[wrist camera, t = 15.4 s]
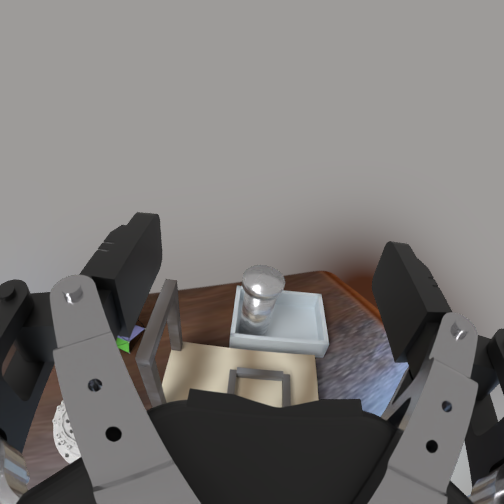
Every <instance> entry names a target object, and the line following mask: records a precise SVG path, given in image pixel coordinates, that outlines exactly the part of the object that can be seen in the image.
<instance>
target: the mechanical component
mask: <svg viewBox="0 0 504 504" xmlns="http://www.w3.org/2000/svg"><path fill="white" fill-rule="evenodd" d="M52 422H53V424H54V425H53V426H54V430H53V432H54V441H55V444H56V447H57V449H58V451H59V453H60V454H61V455H62V456H63V458H64V459H65V460H66V461H67V462H68V463H70V464H71V463H72V462H74V461H75V460H77V459H78V458H80V457H81V454H80V451H79V449H78V446H77V443H76V440H75V437H74V434H73V431H72V428H71V425H70V422H69V418H68V415H67V411H66V408H65V404H64V401H62V402H61V405H60V406H57V411H56V413H55V417H54V419H53V420H52Z"/></svg>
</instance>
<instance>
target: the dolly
mask: <svg viewBox="0 0 504 504" xmlns="http://www.w3.org/2000/svg"><path fill="white" fill-rule="evenodd" d="M166 321H167V324H168V331H169V337H170V344H171V354H170V357H169V361H168V364H167V368H166V371H165V375H164V379H163V383H162V384H161V381H160V377H159V373H158V369H157V365H156V361H155V355H156V352H157V348H158V345H159V342H160V339H161V336H162V333H163V330H164V327H165V324H166ZM135 359H136V362H137V365H138V368H139V371H140V374H141V377H142V380H143V383H144V385H145V388H146V391H147V394H148V396H149V399H150V402H151V404H152V407H156V406H158V405H161V404H164V403H168V402H172V401H178V400H187V399H188V394H189V389H190V388H192V389H199V390H206V391H213V392H221V393H229V394H235V395H238V396H241V397H244V398H247V399H250V400H253V401H256V402H260V403H263V404H266V405H270V406H273V407H287V406H292V405H297V404H302V403H307V402H312V401H316V400H319V399H318V386H317V375H316V364H315V355H305V354H290V353H276V352H265V351H254V350H244V349H235V348H226V347H218V346H210V345H203V344H196V343H189V342H182V332H181V323H180V312H179V301H178V289H177V280H170V279H166V280H165V282H164V285H163V287H162V290H161V292H160V294H159V297H158V299H157V302H156V304H155V307H154V309H153V312H152V314H151V317H150V320H149V322H148V325H147V327H146V330H145V333H144V335H143V338H142V341H141V343H140V346H139V349H138V351H137V354H136V357H135Z"/></svg>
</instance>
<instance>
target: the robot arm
mask: <svg viewBox="0 0 504 504" xmlns="http://www.w3.org/2000/svg"><path fill="white" fill-rule="evenodd" d="M161 262H162V244H161V230H160V219H159V215H158V214H151V213H140V212H137V213H136V214H135V215H134V216H133V218H132V219H131V220H130V222H129V223H128V224H127V225H121V226H120V227H118V228H117V229H115V230H113V231H112V232H110V234H109V235H108V236H107V238H106V239H105V240H104V243H102V244H101V246H100V247H99V248H98V250H97V251H96V252H95V253H94V255H93V256H92V258H91V259H90V260H89V262H88V263H87V264H86V266H85V267H84V269H83V270H82V271H81V273H80V274H79V275H72V276H68V277H66V278H64V279H62V280H60V281H59V282H57V284H55V285H54V287H53V288H52V290H51V292H47V293H33V294H30V292H29V289H28V287H27V285H26V283H25V282H23V281H22V280H10V281H7V282H5V283H3V284H1V285H0V504H504V417H503V418H502V419H501V420H500V421H499V422H498V420H497V416H496V413H495V409H494V406H493V403H492V400H491V397H490V392H491V391H492V390H493V389H494V388H495V387H496V386H497V385H498V384H499V383H500V386H501V388H502V391H503V394H504V329H499V330H498V331H497V332H496V333H495V335H494V336H493V337H492V339H489V338H486V337H483V336H479V335H478V334H477V330H476V328H475V326H474V325H473V324H472V322H471V321H470V320H469V319H467V318H466V317H464V316H463V315H461V314H458V313H453V312H452V311H451V309H450V307H449V305H448V303H447V301H446V299H445V297H444V295H443V294H442V292H441V290H440V288H438V285H437V283H436V282H435V280H434V279H433V276H432V274H431V272H430V271H429V269H428V268H427V267H426V266H425V265H424V264H423V263H422V262H421V261H420V260H419V259H417V257H416V256H415V254H414V252H413V251H412V249H411V247H410V246H409V245H408V244H405V243H398V242H391V241H390V242H388V243H387V244H386V246H385V247H384V250H383V253H382V256H381V258H380V261H379V263H378V266H377V268H376V271H375V274H374V276H373V281H372V291H373V294H374V297H375V300H376V303H377V306H378V309H379V312H380V315H381V318H382V321H383V324H384V328H385V331H386V334H387V337H388V340H389V344H390V347H391V351H392V354H393V357H394V361H395V363H400V362H408V364H409V367H408V368H407V370H406V371H405V373H404V375H403V377H402V379H401V381H400V383H399V385H398V387H397V389H396V391H395V393H394V395H393V397H392V398H391V400H390V402H389V404H388V406H387V408H386V410H385V411H384V413H383V414H382V416H381V417H379V416H377V415H374V414H372V413H369V412H365V411H362V406H361V399H321V400H316V401H312V402H307V403H302V404H297V405H292V406H287V407H273V406H270V405H266V404H263V403H260V402H256V401H253V400H250V399H247V398H244V397H241V396H238V395H235V394H229V393H221V392H213V391H206V390H199V389H192V388H190V389H189V394H188V399H187V400H178V401H172V402H168V403H164V404H161V405H158V406H156V407H153V408H151V409H149V410H147V411H146V410H145V408H144V406H143V404H142V402H141V400H140V397H139V395H138V393H137V391H136V389H135V387H134V384H133V382H132V380H131V378H130V375H129V373H128V371H127V369H126V366H125V364H124V361H123V359H122V357H121V354H120V352H119V349H118V347H117V344H116V339H117V337H118V336H123V337H128V338H130V336H131V334H132V331H133V329H134V327H135V324H136V322H137V319H138V317H139V315H140V312H141V310H142V308H143V305H144V303H145V301H146V298H147V296H148V294H149V292H150V289H151V287H152V285H153V283H154V280H155V278H156V276H157V274H158V272H159V269H160V266H161ZM54 363H55V367H56V372H57V376H58V381H59V385H60V389H61V393H62V397H63V401H64V404H65V408H66V411H67V415H68V418H69V422H70V425H71V428H72V431H73V434H74V437H75V440H76V443H77V446H78V449H79V451H80V454H81V457H80V458H78V459H77V460H75V461H74V462H72V463H71V464H69V465H68V466H66V467H65V468H63V469H62V470H60V471H58V472H57V473H55V474H54V475H52V476H51V477H49V478H47V479H46V480H44V481H43V482H41V483H39V484H38V485H36V486H35V487H33V488H31V489H30V490H28V489H27V485H26V484H27V483H28V482H29V473H28V471H27V467H26V463H25V460H24V458H23V456H22V451H23V448H24V445H25V441H26V438H27V435H28V432H29V429H30V426H31V423H32V420H33V417H34V414H35V411H36V409H37V406H38V403H39V401H40V398H41V395H42V393H43V390H44V388H45V385H46V383H47V380H48V378H49V375H50V373H51V370H52V368H53V366H54ZM464 440H465V445H466V450H467V455H468V462H469V467H470V474H471V481H472V492H471V494H470V495H468V496H466V495H464V493H462V491H460V490H459V488H457V487H456V486H455V485H454V484H453V483H452V482H451V481H450V479H451V476H452V474H453V471H454V468H455V466H456V463H457V460H458V458H459V455H460V452H461V449H462V446H463V443H464Z"/></svg>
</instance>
